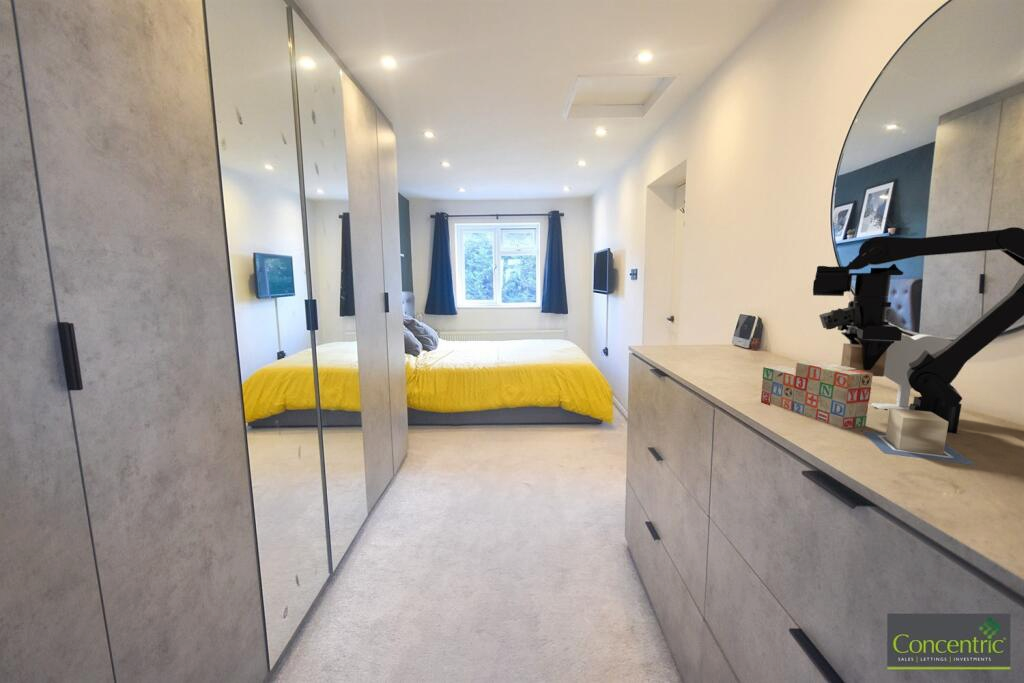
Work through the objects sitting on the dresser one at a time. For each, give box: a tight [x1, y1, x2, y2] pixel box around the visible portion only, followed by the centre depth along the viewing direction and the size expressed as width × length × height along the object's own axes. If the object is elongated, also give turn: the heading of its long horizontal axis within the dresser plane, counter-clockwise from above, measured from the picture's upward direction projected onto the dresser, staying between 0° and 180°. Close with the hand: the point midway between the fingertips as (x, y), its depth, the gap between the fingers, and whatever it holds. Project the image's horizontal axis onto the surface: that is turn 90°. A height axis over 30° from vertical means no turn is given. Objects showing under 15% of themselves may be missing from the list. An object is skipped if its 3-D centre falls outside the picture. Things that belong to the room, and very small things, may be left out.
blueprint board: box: [860, 430, 977, 466], centre depth 77 cm, size 12×12×1 cm
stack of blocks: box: [760, 360, 874, 429], centre depth 96 cm, size 21×6×12 cm, turn 13°
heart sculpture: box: [871, 333, 953, 410], centre depth 99 cm, size 16×5×18 cm, turn 67°
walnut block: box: [840, 343, 887, 378], centre depth 93 cm, size 6×6×6 cm
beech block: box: [885, 408, 948, 455], centre depth 76 cm, size 6×6×6 cm
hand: (861, 367), depth 93 cm, fingers closed on walnut block, 6 cm apart
